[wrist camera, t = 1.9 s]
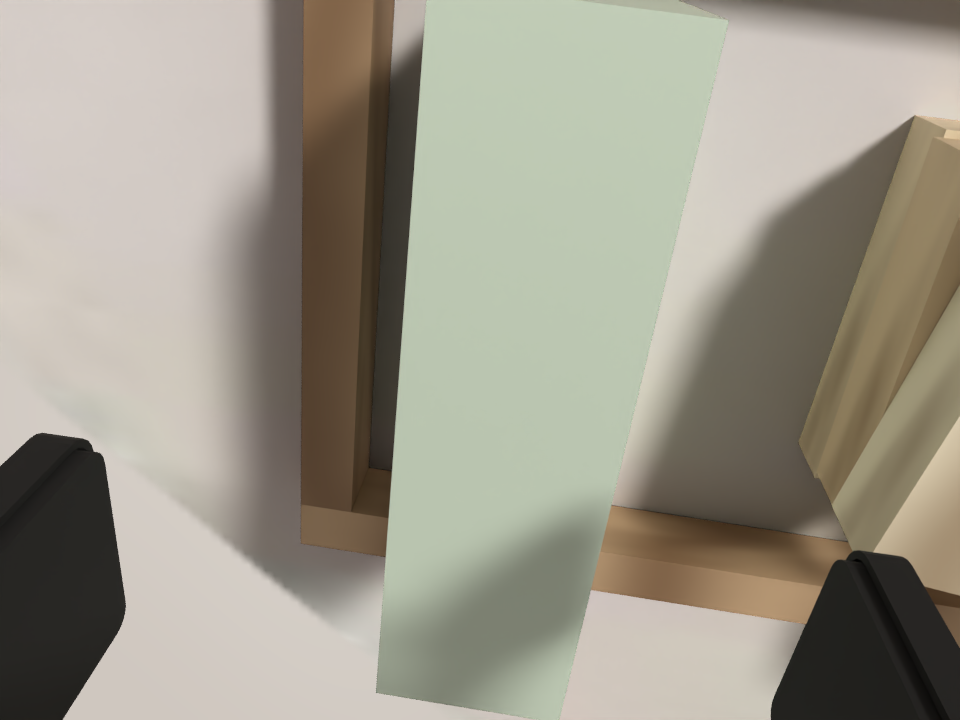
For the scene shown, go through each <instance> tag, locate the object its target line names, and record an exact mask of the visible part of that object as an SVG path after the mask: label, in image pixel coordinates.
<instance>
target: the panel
mask: <svg viewBox="0 0 960 720" xmlns="http://www.w3.org/2000/svg"><path fill="white" fill-rule="evenodd" d="M728 23H729V20H727V19H725V18H722V17H720V16H717V15H715V14H712V13H710V12H707V11H705V10H702V9H699V8H697V7H694V6H692V5H689V4H687V3H684V2H682V1H679V0H426V11H425V25H424V39H423V52H422V66H421V80H420V94H419V107H418V121H417V135H416V149H415V162H414V176H413V190H412V204H411V217H410V231H409V245H408V258H407V272H406V286H405V300H404V313H403V327H402V341H401V355H400V368H399V382H398V396H397V410H396V423H395V437H394V451H393V465H392V478H391V492H390V506H389V520H388V533H387V547H386V561H385V575H384V588H383V602H382V616H381V630H380V643H379V657H378V672H377V686H376V693H381V694H386V695H393V696H398V697H404V698H410V699H416V700H422V701H428V702H434V703H440V704H446V705H452V706H458V707H464V708H470V709H476V710H482V711H488V712H494V713H500V714H506V715H512V716H518V717H524V718H530V719H536V720H559V719H560V715H561V711H562V706H563V702H564V698H565V694H566V690H567V686H568V682H569V678H570V674H571V669H572V665H573V661H574V657H575V653H576V649H577V645H578V641H579V636H580V632H581V628H582V624H583V620H584V616H585V612H586V608H587V604H588V599H589V595H590V591H591V587H592V583H593V579H594V575H595V571H596V566H597V562H598V558H599V554H600V550H601V546H602V542H603V538H604V534H605V529H606V525H607V521H608V517H609V513H610V509H611V505H612V501H613V496H614V492H615V488H616V484H617V480H618V476H619V472H620V468H621V464H622V459H623V455H624V451H625V447H626V443H627V439H628V435H629V431H630V426H631V422H632V418H633V414H634V410H635V406H636V402H637V398H638V394H639V389H640V385H641V381H642V377H643V373H644V369H645V365H646V361H647V356H648V352H649V348H650V344H651V340H652V336H653V332H654V328H655V323H656V319H657V315H658V311H659V307H660V303H661V299H662V295H663V291H664V286H665V282H666V278H667V274H668V270H669V266H670V262H671V258H672V253H673V249H674V245H675V241H676V237H677V233H678V229H679V225H680V221H681V216H682V212H683V208H684V204H685V200H686V196H687V192H688V188H689V183H690V179H691V175H692V171H693V167H694V163H695V159H696V155H697V151H698V146H699V142H700V138H701V134H702V130H703V126H704V122H705V118H706V113H707V109H708V105H709V101H710V97H711V93H712V89H713V85H714V81H715V76H716V72H717V68H718V64H719V60H720V56H721V52H722V48H723V43H724V39H725V35H726V31H727V27H728Z"/></svg>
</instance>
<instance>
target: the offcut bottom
mask: <svg viewBox="0 0 960 720" xmlns="http://www.w3.org/2000/svg"><path fill="white" fill-rule="evenodd" d="M933 137H941V138H951V139H960V121H958V120H950V119H942V118H934V117H926V116H918V115H915V116H914V119H913V122H912V125H911V128H910V131H909V133H908V136H907V139H906V142H905V145H904V147H903V150H902V153H901V156H900V159H899V161H898V164H897V167H896V170H895V173H894V175H893V178H892V181H891V184H890V187H889V189H888V192H887V195H886V198H885V201H884V203H883V206H882V209H881V212H880V215H879V217H878V220H877V223H876V226H875V229H874V231H873V234H872V237H871V240H870V243H869V245H868V248H867V251H866V254H865V257H864V260H863V262H862V265H861V268H860V271H859V274H858V276H857V279H856V282H855V285H854V288H853V290H852V293H851V296H850V299H849V302H848V304H847V307H846V310H845V313H844V316H843V318H842V321H841V324H840V327H839V330H838V332H837V335H836V338H835V341H834V344H833V346H832V349H831V352H830V355H829V358H828V360H827V363H826V366H825V369H824V372H823V375H822V377H821V380H820V383H819V386H818V389H817V391H816V394H815V397H814V400H813V403H812V405H811V408H810V411H809V414H808V417H807V419H806V422H805V425H804V428H803V431H802V433H801V436H800V439H799V442H798V443H799V446H800V448H801V450H802V452H803V454H804V456H805V458H806V461H807V463H808V465H809V467H810V469H811V471H812V473H813V475H814V478H817V479H820V478H819V476H818V474H817V469H818V466H819V463H820V460H821V457H822V454H823V451H824V449H825V446H826V443H827V440H828V437H829V434H830V431H831V428H832V426H833V423H834V420H835V417H836V414H837V411H838V408H839V405H840V403H841V400H842V397H843V394H844V391H845V388H846V385H847V383H848V380H849V377H850V374H851V371H852V368H853V365H854V362H855V360H856V357H857V354H858V351H859V348H860V345H861V342H862V339H863V337H864V334H865V331H866V328H867V325H868V322H869V319H870V316H871V314H872V311H873V308H874V305H875V302H876V299H877V296H878V293H879V291H880V288H881V285H882V282H883V279H884V276H885V273H886V271H887V268H888V265H889V262H890V259H891V256H892V253H893V250H894V248H895V245H896V242H897V239H898V236H899V233H900V230H901V227H902V225H903V222H904V219H905V216H906V213H907V210H908V207H909V204H910V202H911V199H912V196H913V193H914V190H915V187H916V184H917V181H918V179H919V176H920V173H921V170H922V167H923V164H924V161H925V158H926V156H927V153H928V150H929V147H930V144H931V141H932V138H933Z"/></svg>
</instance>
